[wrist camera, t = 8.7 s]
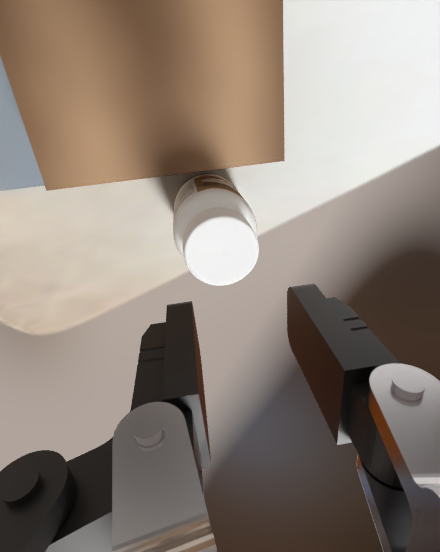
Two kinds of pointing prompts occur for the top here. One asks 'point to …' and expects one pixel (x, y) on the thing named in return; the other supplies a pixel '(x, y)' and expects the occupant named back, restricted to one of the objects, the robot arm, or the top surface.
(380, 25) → the top surface
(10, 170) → the mat
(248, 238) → the pill bottle
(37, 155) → the block
